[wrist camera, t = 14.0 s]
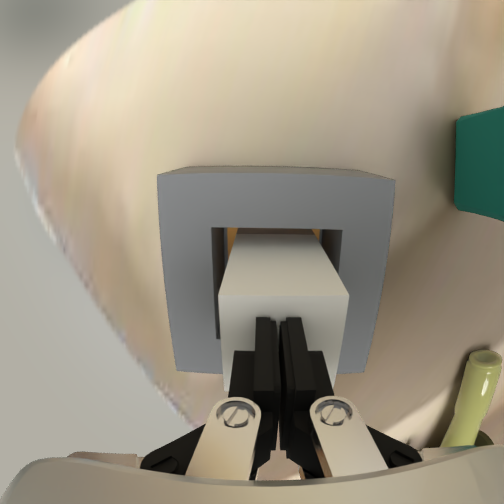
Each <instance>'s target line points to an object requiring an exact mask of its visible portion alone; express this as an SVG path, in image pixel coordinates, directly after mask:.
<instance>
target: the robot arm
mask: <svg viewBox="0 0 504 504" xmlns="http://www.w3.org/2000/svg"><path fill="white" fill-rule="evenodd" d="M278 421H279V435H280V450H286V458H287V459H288V458H290V459H291V460H292V461H293V462H295V463H296V464H298V469H299V474H300V478H301V480H277V481H257V477H258V472H259V467H260V466H262V465H263V464H264V463H266V462H267V461H268V460H270V453H271V450H276V441H277V431H278ZM0 504H504V444H496V445H488V446H481V447H477V446H475V445H465V446H454V447H440V448H423V449H422V450H421V451H417V450H415V449H414V448H412V447H411V446H408V445H406V444H404V443H402V442H400V441H398V440H396V439H393V438H391V437H389V436H387V435H385V434H383V433H381V432H379V431H377V430H375V429H373V428H371V427H369V426H367V425H365V423H364V421H363V419H362V417H361V415H360V413H359V412H358V410H357V408H356V407H355V405H354V404H353V403H352V402H351V401H349V400H348V399H345V398H343V397H338V396H334V392H333V388H332V384H331V381H330V377H329V373H328V369H327V366H326V362H325V358H324V354H323V352H322V351H308V347H307V342H306V338H305V333H304V328H303V324H302V319H301V317H286V321H281V322H280V336H279V352H278V338H277V325H276V321H271V318H270V317H256V330H255V351H238V350H235V351H234V355H233V363H232V371H231V379H230V387H229V395H228V398H226V399H223V400H221V401H219V402H218V403H216V404H215V405H214V407H213V408H212V410H211V412H210V415H209V417H208V420H207V422H206V424H204V425H202V426H201V427H199V428H197V429H195V430H193V431H191V432H190V433H188V434H186V435H184V436H182V437H180V438H178V439H176V440H175V441H173V442H171V443H169V444H167V445H165V446H163V447H161V448H159V449H157V450H154V451H152V452H151V453H149V454H148V455H146V456H145V457H137V454H116V453H115V454H114V453H96V452H75V453H72V454H70V455H69V456H67V457H57V458H55V457H52V458H44V459H38V460H35V461H33V462H31V463H29V464H28V465H26V466H25V467H24V468H23V469H21V470H20V472H19V473H18V474H17V475H16V476H15V478H14V479H13V480H12V482H11V483H10V484H9V486H8V487H7V489H6V491H5V492H4V494H3V496H2V497H1V499H0Z"/></svg>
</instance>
